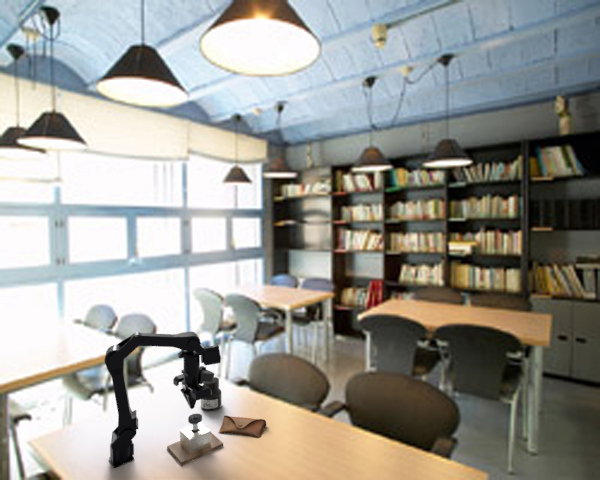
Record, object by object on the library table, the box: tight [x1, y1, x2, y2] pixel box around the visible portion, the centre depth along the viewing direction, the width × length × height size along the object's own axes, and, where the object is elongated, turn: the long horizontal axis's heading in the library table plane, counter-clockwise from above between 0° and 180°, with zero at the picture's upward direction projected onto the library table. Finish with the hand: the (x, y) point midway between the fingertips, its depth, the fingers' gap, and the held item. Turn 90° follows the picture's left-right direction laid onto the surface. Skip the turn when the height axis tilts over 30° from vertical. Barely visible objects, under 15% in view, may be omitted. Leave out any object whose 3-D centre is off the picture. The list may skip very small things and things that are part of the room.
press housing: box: [179, 421, 212, 454], centre depth 131 cm, size 8×8×5 cm
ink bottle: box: [200, 376, 222, 412], centre depth 161 cm, size 10×9×12 cm
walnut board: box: [166, 432, 224, 467], centre depth 131 cm, size 16×12×1 cm
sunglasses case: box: [218, 415, 267, 438], centre depth 143 cm, size 18×7×7 cm, turn 82°
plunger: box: [187, 413, 203, 433], centre depth 131 cm, size 5×5×6 cm
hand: (192, 408), depth 134 cm, fingers closed
